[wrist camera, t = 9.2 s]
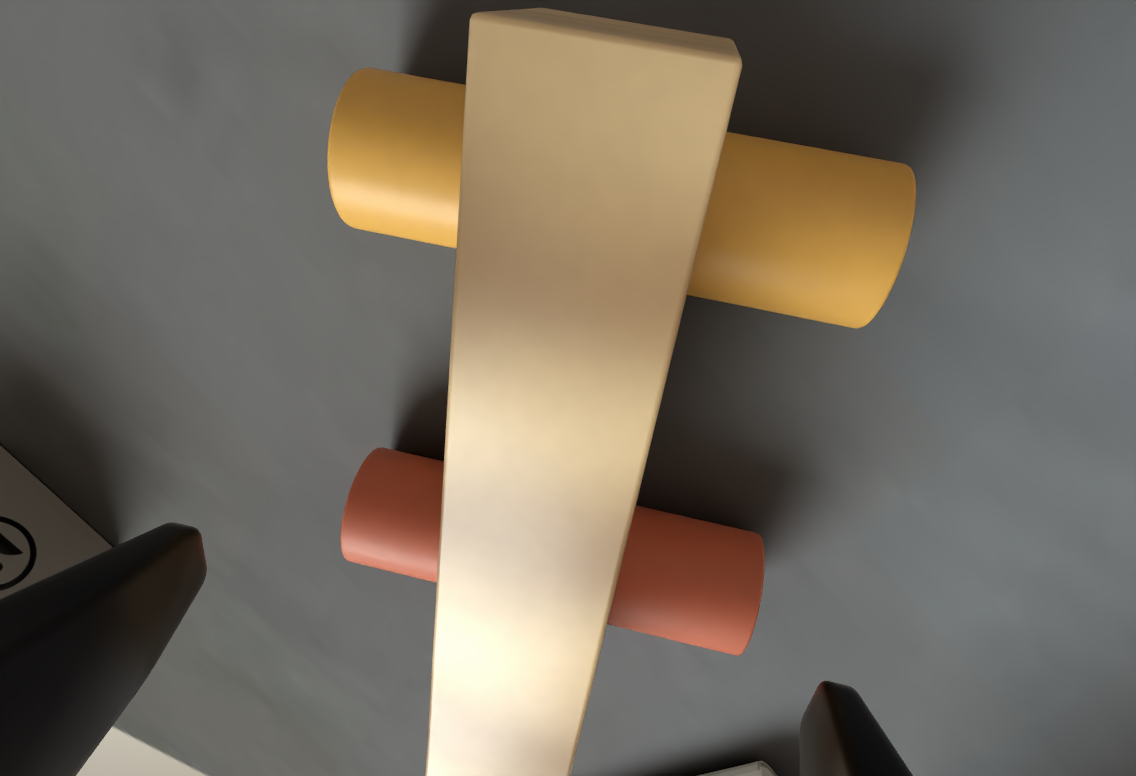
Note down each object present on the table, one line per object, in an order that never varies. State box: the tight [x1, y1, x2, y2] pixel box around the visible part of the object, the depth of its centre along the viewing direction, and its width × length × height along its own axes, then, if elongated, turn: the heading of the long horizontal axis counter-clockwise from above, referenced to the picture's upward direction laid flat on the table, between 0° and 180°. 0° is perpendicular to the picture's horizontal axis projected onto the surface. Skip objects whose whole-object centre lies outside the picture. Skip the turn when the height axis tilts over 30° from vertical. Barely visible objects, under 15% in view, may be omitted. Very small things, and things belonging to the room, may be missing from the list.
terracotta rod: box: [341, 448, 764, 655], centre depth 18 cm, size 3×10×3 cm, turn 83°
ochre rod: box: [328, 68, 916, 328], centre depth 13 cm, size 3×10×3 cm, turn 82°
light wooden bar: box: [426, 8, 742, 776], centre depth 13 cm, size 15×3×4 cm, turn 172°
